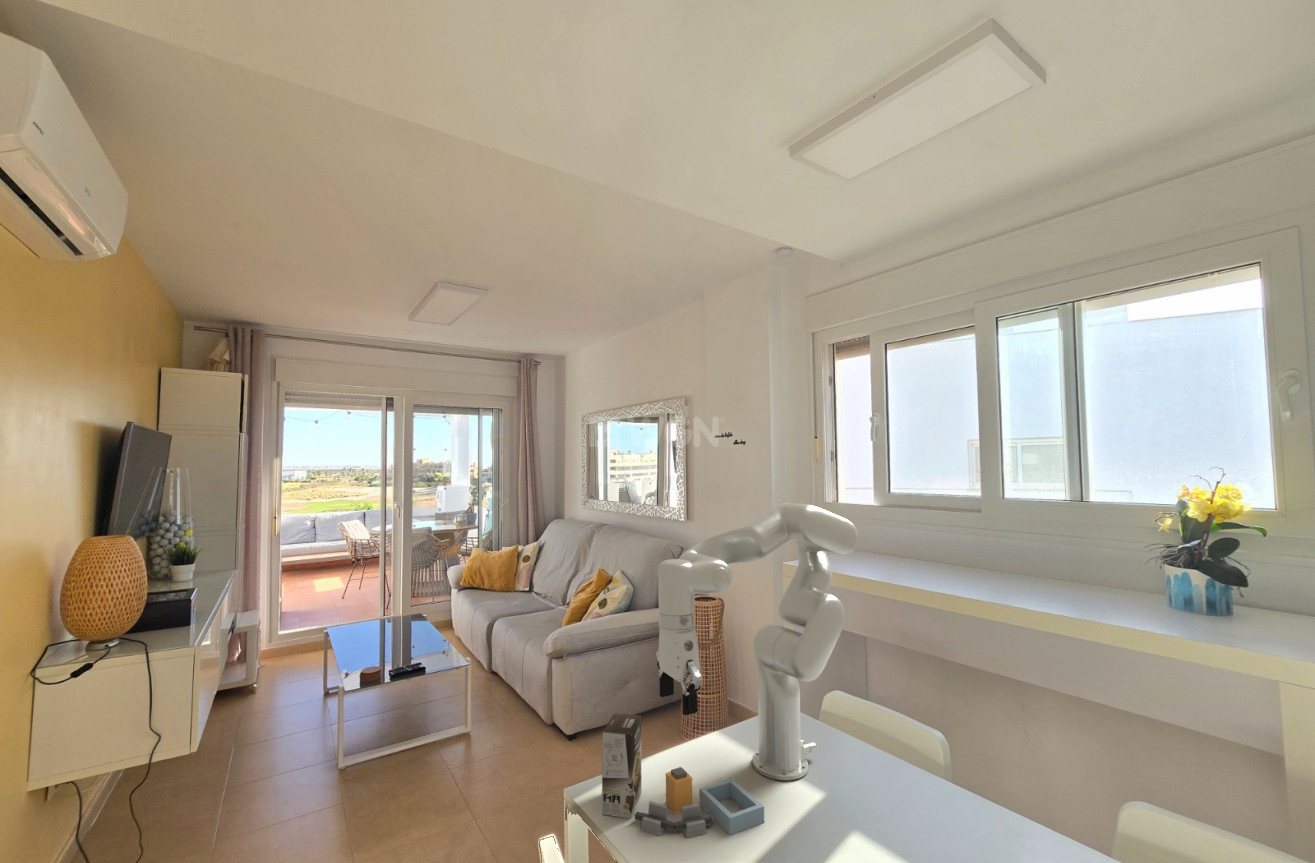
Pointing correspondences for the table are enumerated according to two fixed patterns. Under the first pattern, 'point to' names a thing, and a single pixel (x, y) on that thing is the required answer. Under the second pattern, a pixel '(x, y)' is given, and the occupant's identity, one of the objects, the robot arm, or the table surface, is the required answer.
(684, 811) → the clip
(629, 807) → the coffee box
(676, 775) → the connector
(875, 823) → the table surface
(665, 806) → the clip
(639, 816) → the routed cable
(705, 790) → the frame
